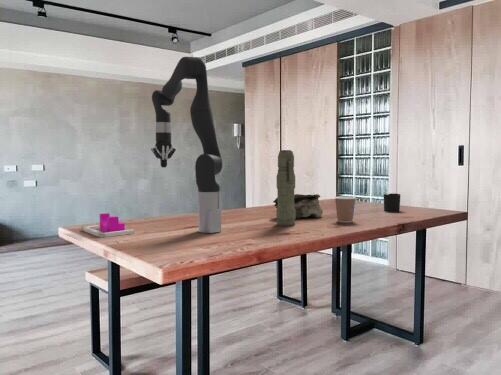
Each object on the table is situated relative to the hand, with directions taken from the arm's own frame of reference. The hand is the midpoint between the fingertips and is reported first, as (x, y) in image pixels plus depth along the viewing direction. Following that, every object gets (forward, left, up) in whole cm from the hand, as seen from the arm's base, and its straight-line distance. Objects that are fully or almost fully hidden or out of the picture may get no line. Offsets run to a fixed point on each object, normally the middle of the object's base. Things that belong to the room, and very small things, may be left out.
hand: (163, 167), depth 207 cm
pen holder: (-50, -122, -27) cm, 135 cm away
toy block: (-11, +31, -28) cm, 43 cm away
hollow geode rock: (-32, -61, -27) cm, 74 cm away
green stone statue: (-46, -39, -27) cm, 66 cm away
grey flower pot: (-58, -68, -27) cm, 94 cm away
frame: (-10, +32, -27) cm, 43 cm away
